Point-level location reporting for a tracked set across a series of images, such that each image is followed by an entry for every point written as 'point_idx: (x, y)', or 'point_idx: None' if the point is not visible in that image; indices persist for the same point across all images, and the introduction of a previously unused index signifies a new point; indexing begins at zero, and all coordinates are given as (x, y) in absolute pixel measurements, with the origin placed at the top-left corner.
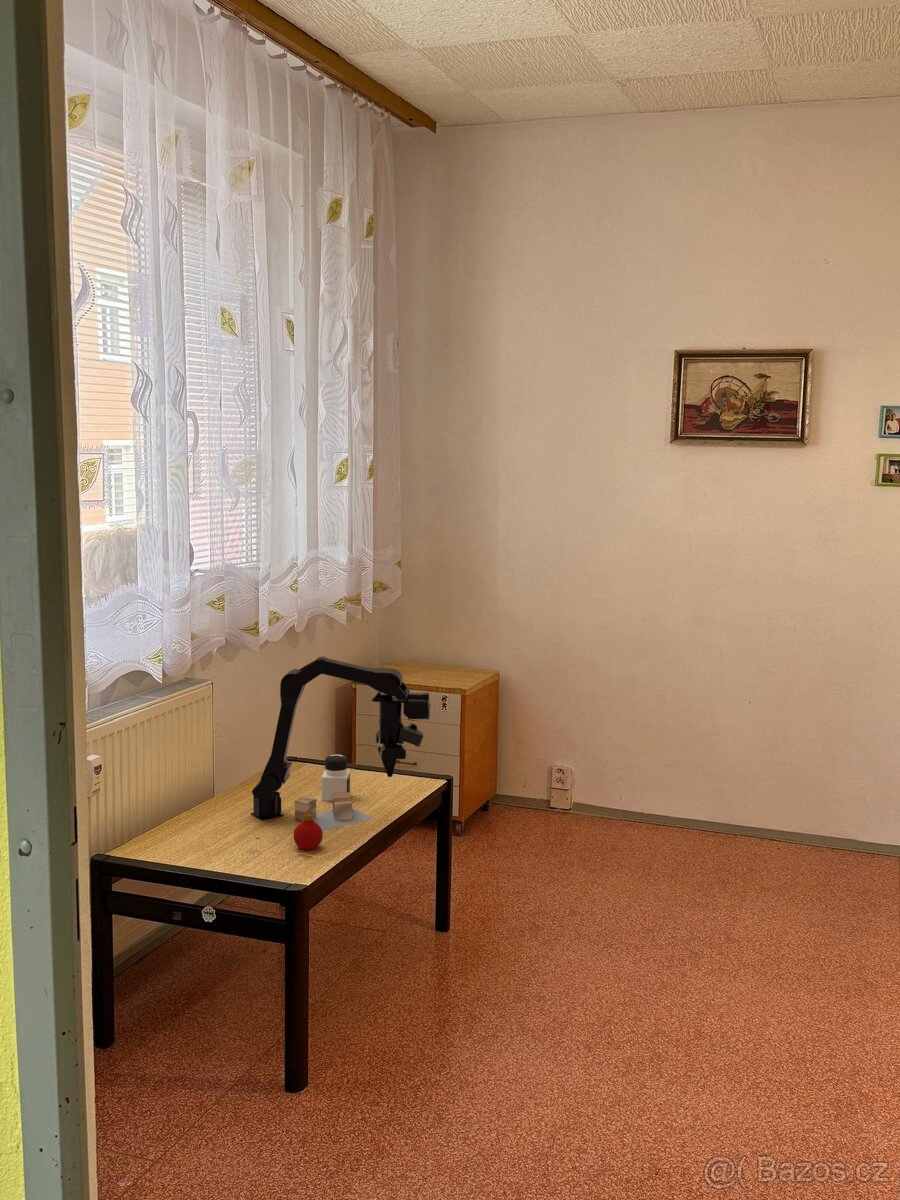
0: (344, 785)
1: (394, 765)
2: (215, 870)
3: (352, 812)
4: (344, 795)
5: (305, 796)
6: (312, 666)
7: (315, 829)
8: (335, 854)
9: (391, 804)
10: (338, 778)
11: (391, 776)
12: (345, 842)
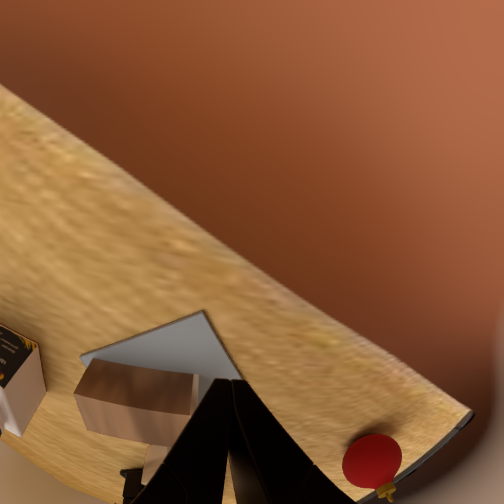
0: (16, 380)
1: (315, 469)
2: (369, 493)
3: (131, 360)
4: (110, 415)
5: (144, 482)
6: None
7: (400, 462)
8: (411, 400)
9: (45, 211)
10: (10, 407)
11: (244, 384)
12: (364, 391)
